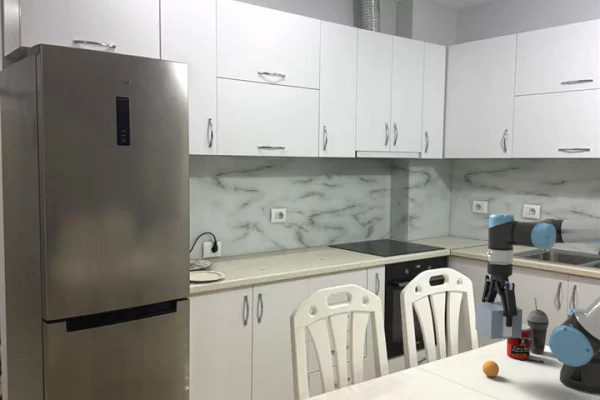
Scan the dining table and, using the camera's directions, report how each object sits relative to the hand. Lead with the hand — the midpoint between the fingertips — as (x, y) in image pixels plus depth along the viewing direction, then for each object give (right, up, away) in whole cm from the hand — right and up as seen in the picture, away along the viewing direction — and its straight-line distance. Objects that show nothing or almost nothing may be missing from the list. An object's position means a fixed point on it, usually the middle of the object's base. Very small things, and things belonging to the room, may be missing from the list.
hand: (497, 331), depth 174 cm
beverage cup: (+23, -14, +24) cm, 35 cm away
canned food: (+14, -14, +19) cm, 28 cm away
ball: (-2, -12, +1) cm, 12 cm away
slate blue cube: (0, -1, 0) cm, 1 cm away
